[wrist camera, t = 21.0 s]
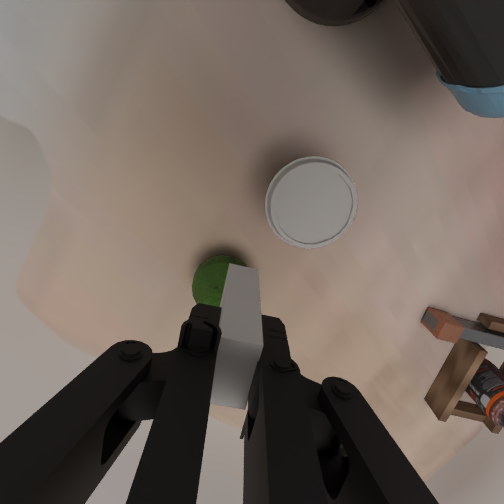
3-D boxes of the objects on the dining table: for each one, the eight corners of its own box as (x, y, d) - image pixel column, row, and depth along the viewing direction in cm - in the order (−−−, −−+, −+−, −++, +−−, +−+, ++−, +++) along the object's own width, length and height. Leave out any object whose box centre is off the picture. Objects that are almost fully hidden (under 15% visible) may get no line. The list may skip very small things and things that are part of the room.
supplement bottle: (446, 374, 55) (495, 432, 44) (473, 349, 53) (530, 402, 42) (471, 391, 56) (525, 451, 45) (499, 366, 54) (561, 423, 44)
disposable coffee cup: (346, 193, 45) (380, 213, 33) (289, 237, 47) (303, 269, 35) (304, 135, 42) (325, 135, 31) (246, 184, 44) (245, 200, 33)
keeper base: (473, 311, 51) (494, 326, 47) (554, 332, 52) (582, 350, 48) (424, 398, 56) (438, 420, 52) (499, 416, 58) (519, 438, 53)
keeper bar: (428, 307, 50) (445, 322, 46) (510, 329, 52) (534, 346, 47) (421, 322, 51) (436, 338, 47) (502, 343, 52) (524, 360, 48)
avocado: (215, 305, 50) (207, 354, 38) (187, 262, 48) (169, 301, 36) (263, 281, 49) (268, 324, 37) (236, 235, 46) (233, 267, 35)
